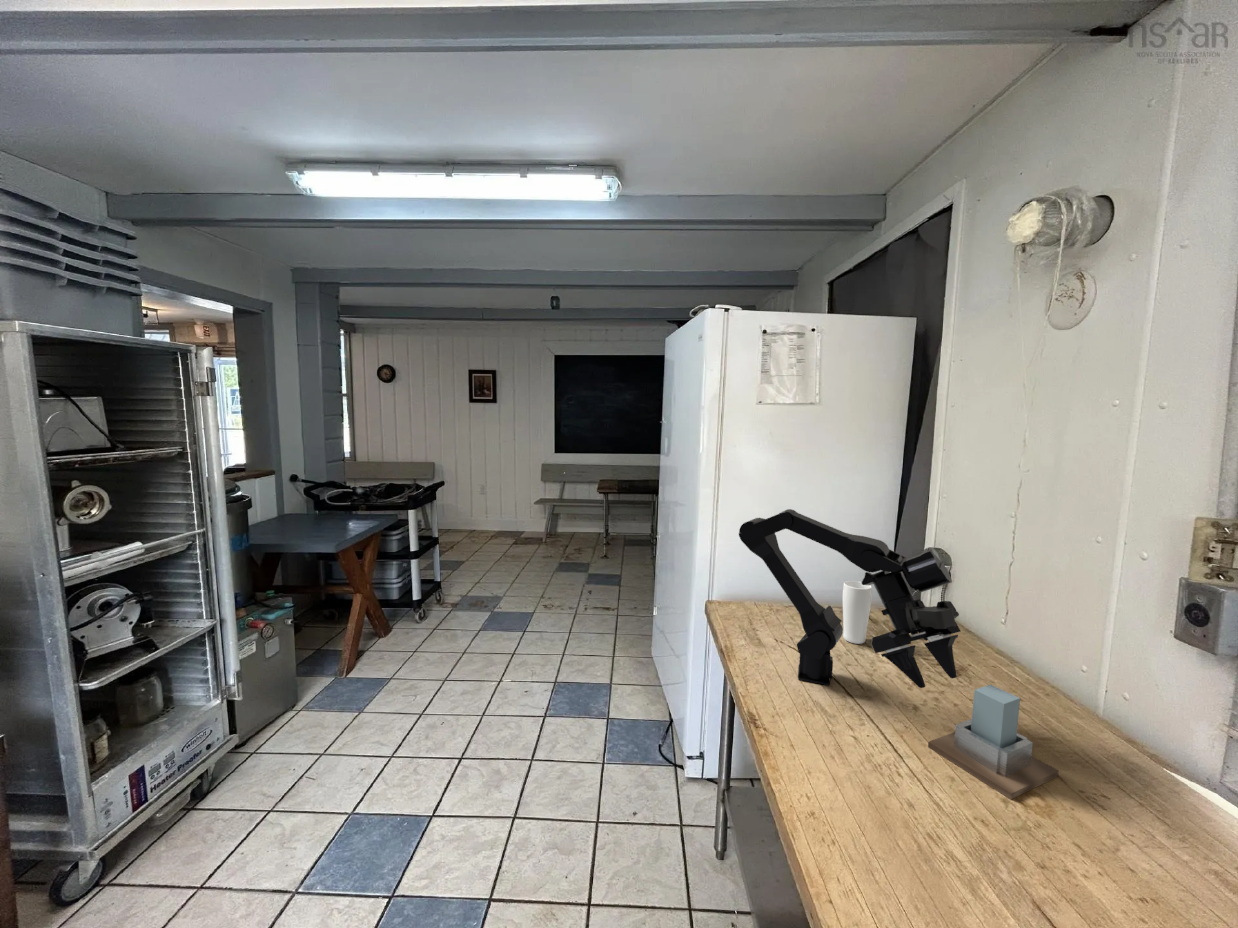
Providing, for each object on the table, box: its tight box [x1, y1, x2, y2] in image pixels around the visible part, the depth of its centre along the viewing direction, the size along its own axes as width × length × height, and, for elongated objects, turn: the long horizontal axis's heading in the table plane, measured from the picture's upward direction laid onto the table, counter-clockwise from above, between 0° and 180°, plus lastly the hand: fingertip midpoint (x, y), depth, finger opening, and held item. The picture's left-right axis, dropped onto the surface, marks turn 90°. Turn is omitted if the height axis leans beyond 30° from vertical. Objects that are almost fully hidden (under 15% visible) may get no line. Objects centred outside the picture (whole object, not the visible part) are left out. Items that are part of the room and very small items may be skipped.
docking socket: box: [927, 718, 1060, 800], centre depth 83 cm, size 13×13×5 cm
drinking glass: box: [842, 580, 873, 645], centre depth 128 cm, size 7×7×15 cm
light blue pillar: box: [971, 683, 1021, 749], centre depth 83 cm, size 4×4×11 cm
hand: (938, 682), depth 91 cm, fingers open, 9 cm apart
